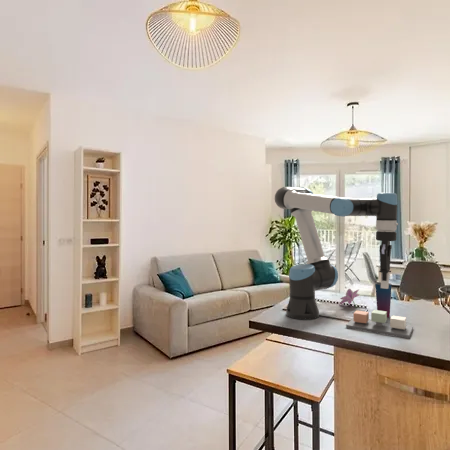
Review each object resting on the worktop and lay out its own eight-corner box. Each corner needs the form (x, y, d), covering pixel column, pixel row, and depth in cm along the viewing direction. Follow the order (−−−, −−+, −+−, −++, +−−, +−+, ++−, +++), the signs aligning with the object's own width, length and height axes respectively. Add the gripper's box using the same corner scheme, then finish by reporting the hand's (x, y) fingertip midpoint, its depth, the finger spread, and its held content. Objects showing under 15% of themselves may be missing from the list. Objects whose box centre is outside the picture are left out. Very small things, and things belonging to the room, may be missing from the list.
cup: (393, 318, 147) (393, 285, 147) (377, 318, 149) (377, 285, 148) (389, 314, 154) (389, 282, 154) (373, 313, 155) (373, 282, 155)
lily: (363, 306, 172) (355, 289, 175) (369, 303, 161) (360, 284, 165) (341, 313, 172) (334, 296, 176) (345, 311, 161) (337, 292, 165)
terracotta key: (353, 321, 138) (353, 313, 138) (356, 318, 142) (356, 310, 142) (366, 323, 135) (366, 315, 135) (368, 320, 139) (368, 312, 139)
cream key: (390, 327, 130) (390, 318, 130) (392, 323, 134) (392, 315, 134) (404, 329, 127) (404, 320, 127) (406, 325, 131) (406, 317, 131)
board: (346, 327, 136) (346, 319, 136) (354, 319, 147) (353, 312, 147) (409, 338, 123) (409, 329, 123) (413, 328, 133) (412, 320, 133)
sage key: (371, 321, 134) (371, 312, 134) (373, 318, 138) (373, 309, 138) (384, 323, 131) (384, 314, 131) (386, 319, 135) (386, 311, 135)
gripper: (394, 232, 126) (392, 292, 127) (398, 230, 137) (397, 286, 138) (372, 231, 130) (371, 290, 132) (379, 229, 141) (377, 284, 142)
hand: (384, 288), depth 135 cm, fingers closed
